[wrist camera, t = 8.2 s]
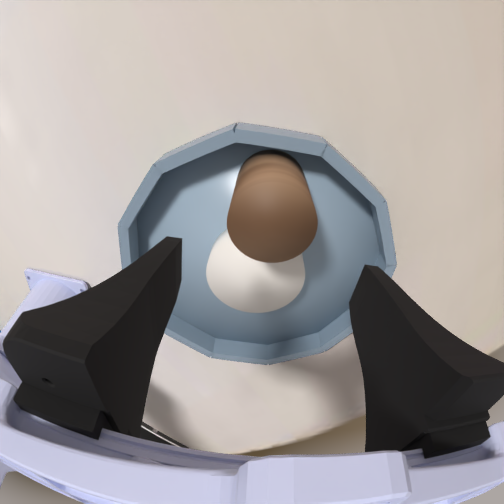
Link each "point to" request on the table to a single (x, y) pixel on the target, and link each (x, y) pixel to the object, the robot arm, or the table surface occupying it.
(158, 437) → the cell phone
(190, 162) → the round tray
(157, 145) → the table surface
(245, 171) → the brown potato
